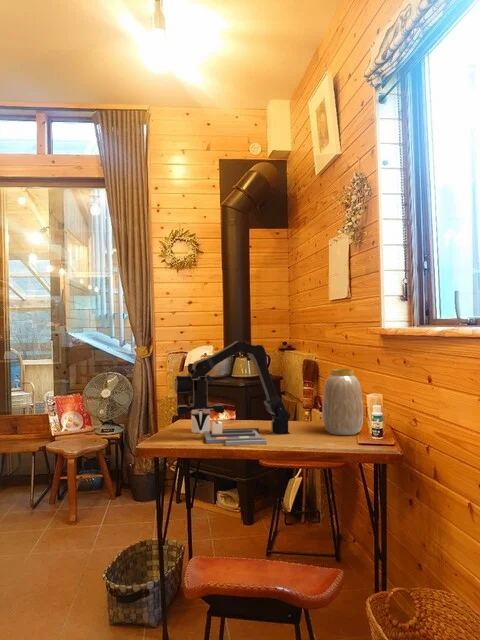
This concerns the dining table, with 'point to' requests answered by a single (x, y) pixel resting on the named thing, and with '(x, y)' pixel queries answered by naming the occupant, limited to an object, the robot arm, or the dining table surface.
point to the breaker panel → (230, 435)
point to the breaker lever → (217, 427)
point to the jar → (195, 425)
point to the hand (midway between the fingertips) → (200, 430)
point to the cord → (244, 429)
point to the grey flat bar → (245, 442)
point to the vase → (342, 403)
